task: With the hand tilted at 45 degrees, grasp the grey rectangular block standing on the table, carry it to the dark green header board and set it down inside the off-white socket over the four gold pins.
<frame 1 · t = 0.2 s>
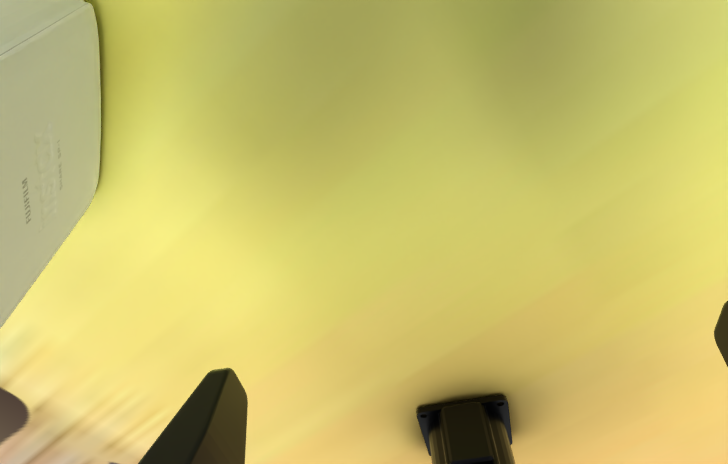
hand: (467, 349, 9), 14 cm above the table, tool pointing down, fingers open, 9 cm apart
photo printer: (57, 96, 21), on the table
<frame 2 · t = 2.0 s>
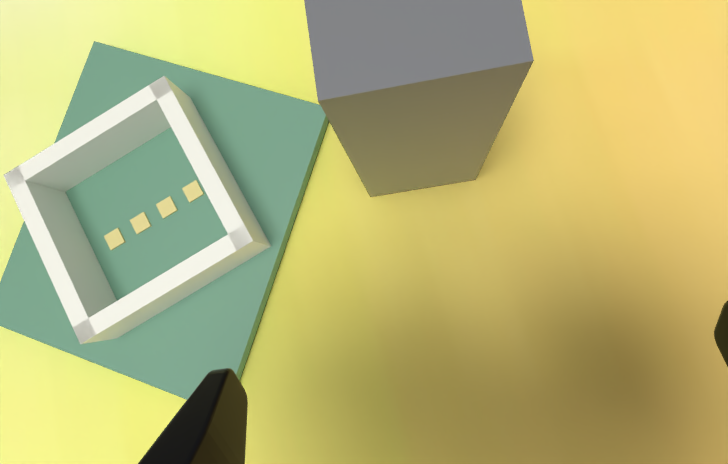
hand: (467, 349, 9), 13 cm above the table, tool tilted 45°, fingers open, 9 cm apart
header board: (162, 217, 24), on the table
grey rectangular block: (415, 148, 23), on the table
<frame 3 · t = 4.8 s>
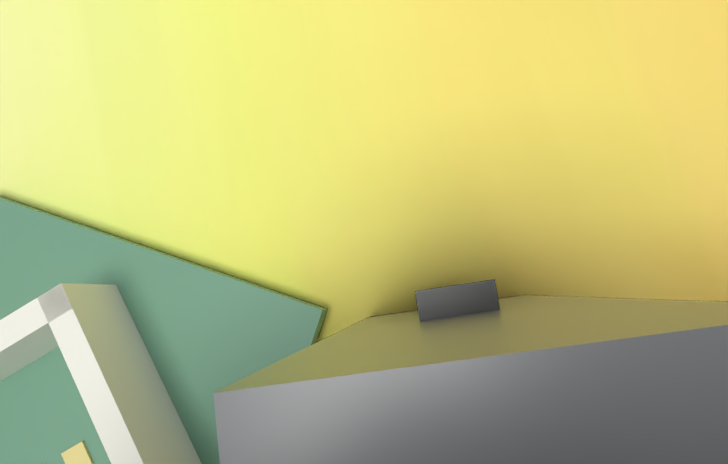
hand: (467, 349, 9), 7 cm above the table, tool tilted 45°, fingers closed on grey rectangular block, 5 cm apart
header board: (76, 461, 16), on the table
grey rectangular block: (455, 369, 15), on the table, touching gripper
when the fingers open (8 cm above the table, at t = 8.5 s): grey rectangular block stays where it is, resting on header board.
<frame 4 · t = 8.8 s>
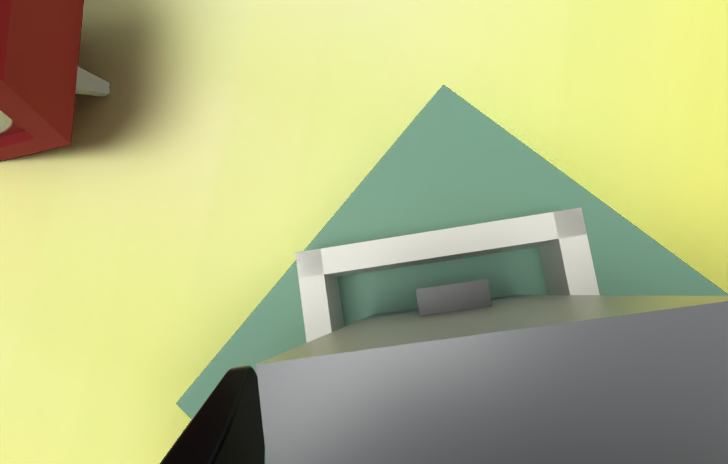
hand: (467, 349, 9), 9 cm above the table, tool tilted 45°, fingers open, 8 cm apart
header board: (451, 361, 17), on the table
alarm clock: (6, 71, 21), on the table
grey rectangular block: (453, 364, 16), point 1 cm above the table, touching header board
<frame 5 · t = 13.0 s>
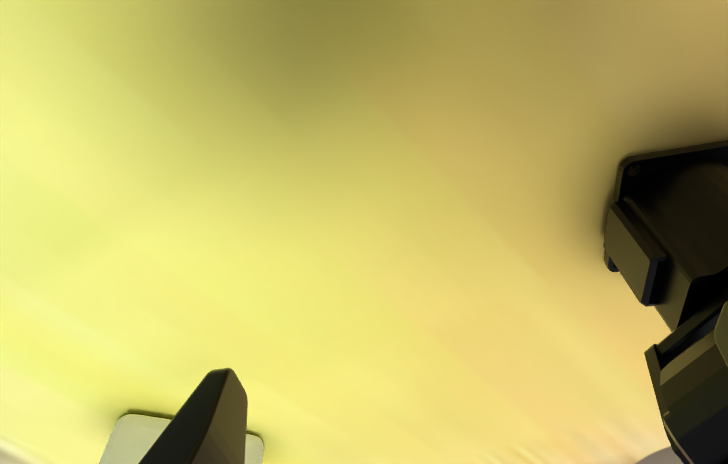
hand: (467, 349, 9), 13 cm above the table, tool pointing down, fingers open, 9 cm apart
photo printer: (194, 431, 34), on the table
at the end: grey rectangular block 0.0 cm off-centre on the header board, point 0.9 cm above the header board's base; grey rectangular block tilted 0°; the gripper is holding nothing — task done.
